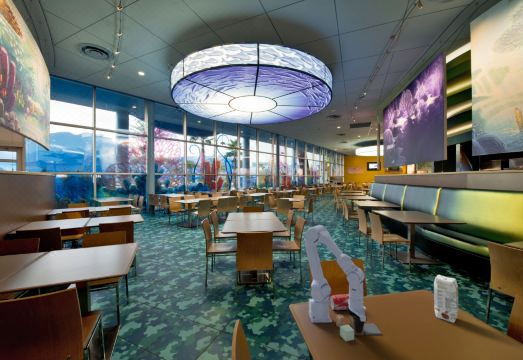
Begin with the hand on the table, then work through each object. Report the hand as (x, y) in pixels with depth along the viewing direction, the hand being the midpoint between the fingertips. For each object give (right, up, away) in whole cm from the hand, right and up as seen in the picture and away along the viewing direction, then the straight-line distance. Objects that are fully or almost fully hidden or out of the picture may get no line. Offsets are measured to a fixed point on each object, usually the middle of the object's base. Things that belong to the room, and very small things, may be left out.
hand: (356, 328), depth 104 cm
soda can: (+8, +2, +20) cm, 22 cm away
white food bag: (+47, -2, +10) cm, 49 cm away
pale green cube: (-6, -2, -4) cm, 7 cm away
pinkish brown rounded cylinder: (-6, -2, +5) cm, 8 cm away
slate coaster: (+6, -1, +2) cm, 7 cm away
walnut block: (0, -1, 0) cm, 1 cm away
